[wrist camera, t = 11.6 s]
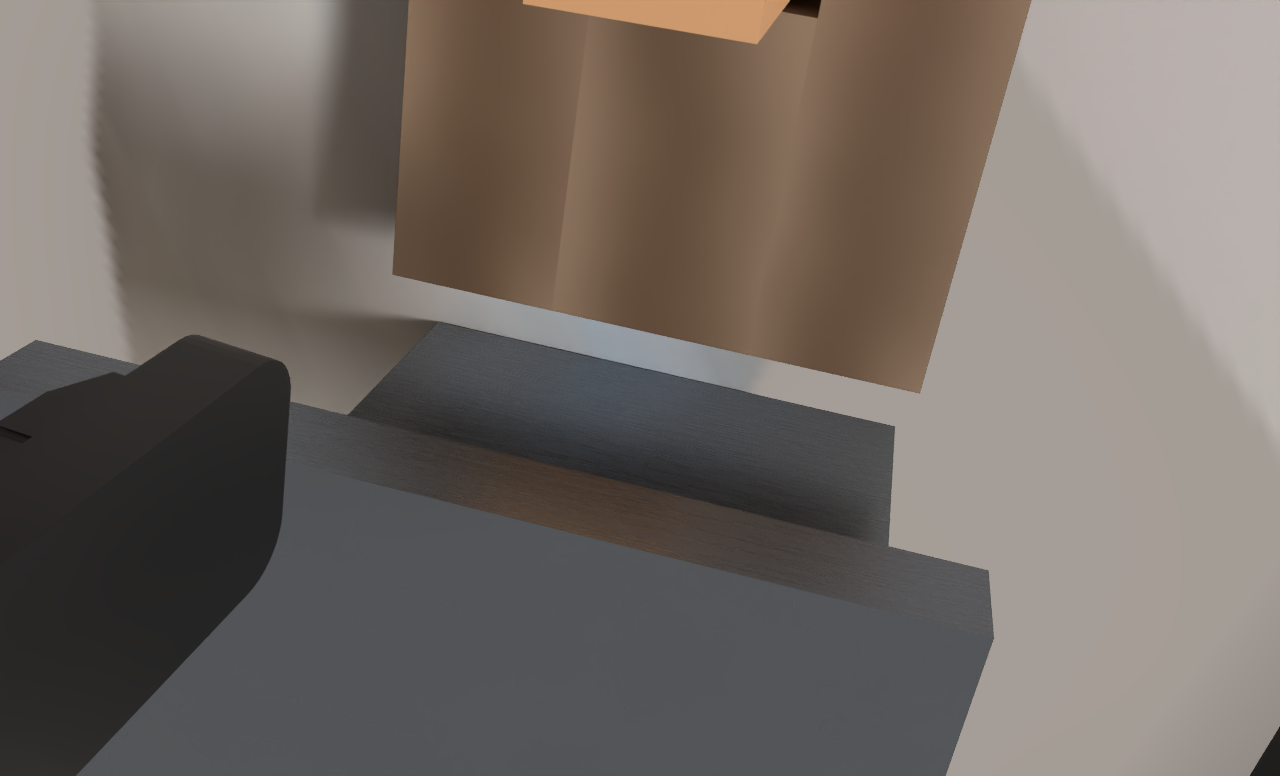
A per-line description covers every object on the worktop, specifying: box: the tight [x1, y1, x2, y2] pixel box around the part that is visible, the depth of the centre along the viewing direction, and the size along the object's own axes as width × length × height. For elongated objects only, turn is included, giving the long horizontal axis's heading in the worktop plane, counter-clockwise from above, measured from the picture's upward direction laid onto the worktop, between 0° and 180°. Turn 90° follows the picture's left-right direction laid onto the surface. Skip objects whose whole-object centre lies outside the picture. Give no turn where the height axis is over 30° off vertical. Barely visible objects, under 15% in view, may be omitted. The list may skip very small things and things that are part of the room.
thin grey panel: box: [0, 322, 994, 776], centre depth 26 cm, size 14×8×20 cm, turn 81°
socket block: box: [393, 0, 1031, 393], centre depth 29 cm, size 14×16×4 cm
